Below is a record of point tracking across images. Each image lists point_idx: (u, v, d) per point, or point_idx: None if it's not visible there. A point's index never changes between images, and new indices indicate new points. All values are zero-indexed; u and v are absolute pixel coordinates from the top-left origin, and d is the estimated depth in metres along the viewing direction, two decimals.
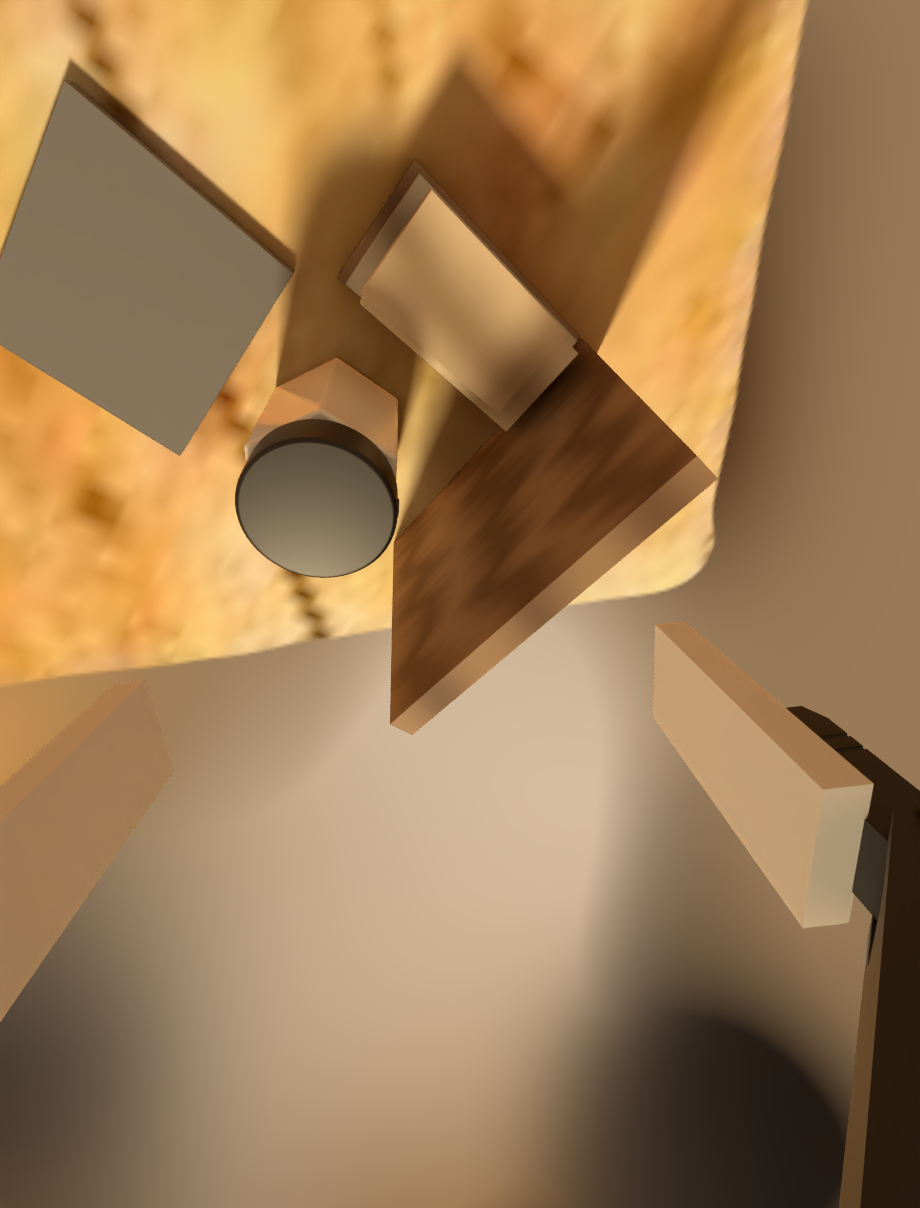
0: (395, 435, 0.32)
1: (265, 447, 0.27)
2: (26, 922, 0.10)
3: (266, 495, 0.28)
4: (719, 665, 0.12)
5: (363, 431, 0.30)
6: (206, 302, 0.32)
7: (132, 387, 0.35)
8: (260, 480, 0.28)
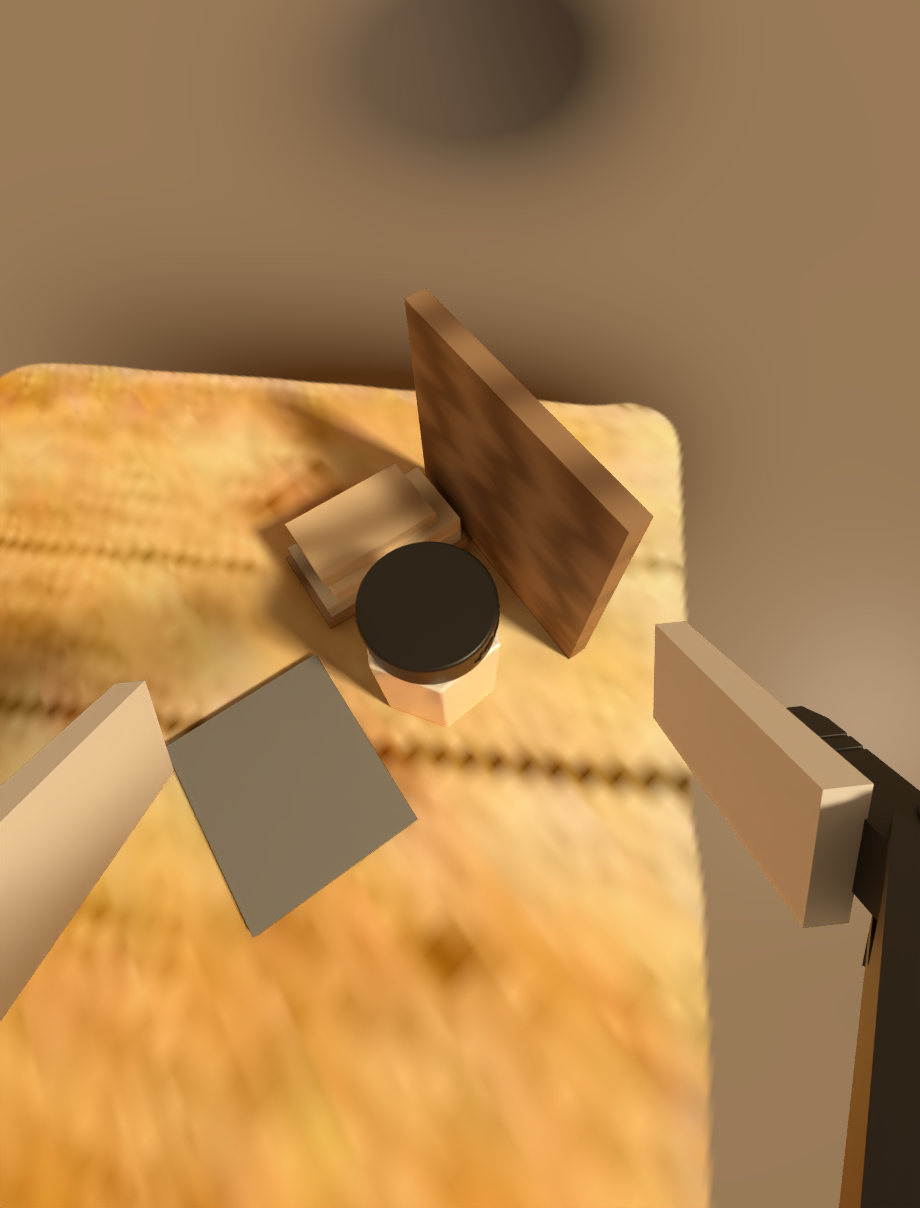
0: None
1: (356, 620, 0.32)
2: (26, 922, 0.10)
3: (394, 635, 0.31)
4: (719, 665, 0.12)
5: None
6: (308, 724, 0.40)
7: (344, 824, 0.37)
8: (379, 633, 0.31)
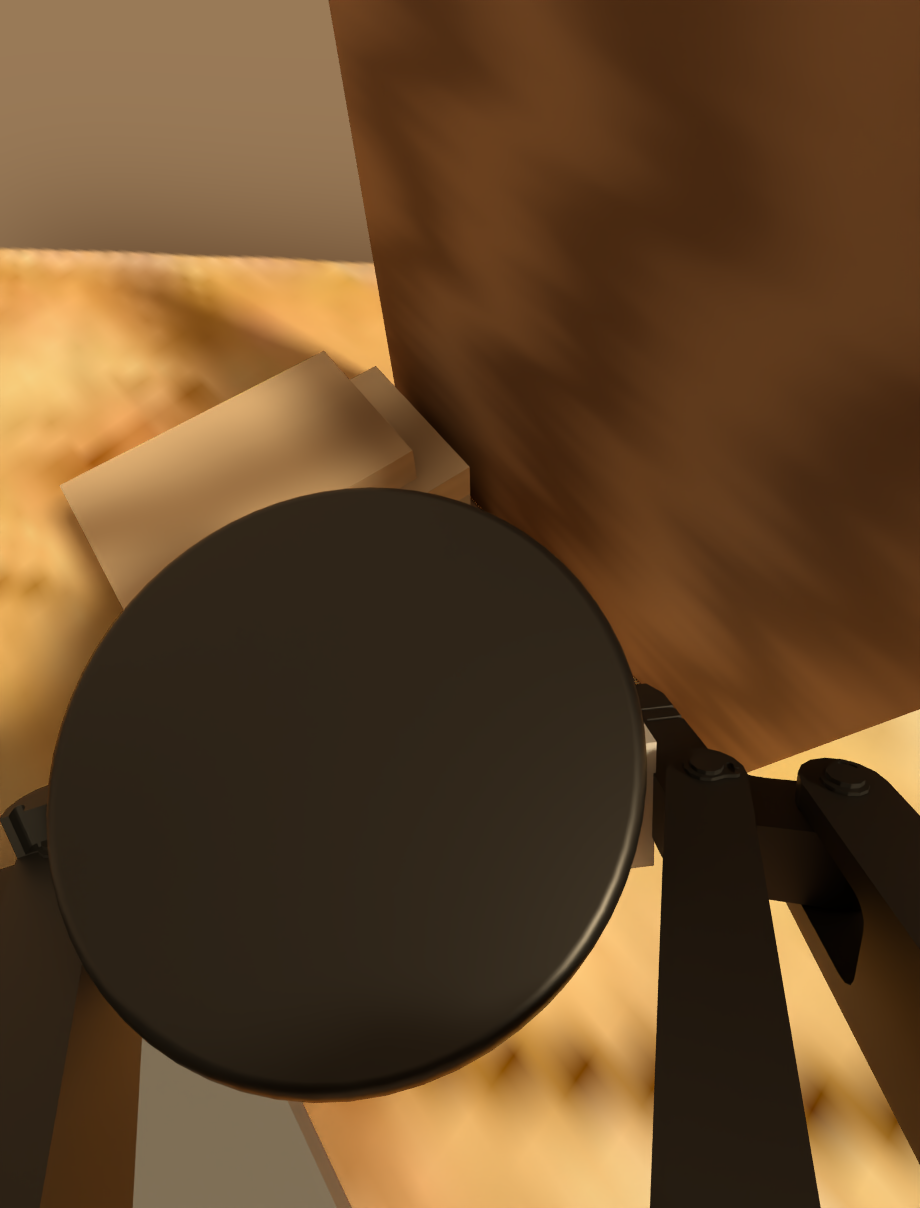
0: None
1: None
2: None
3: (194, 889, 0.07)
4: None
5: None
6: None
7: None
8: (129, 883, 0.07)
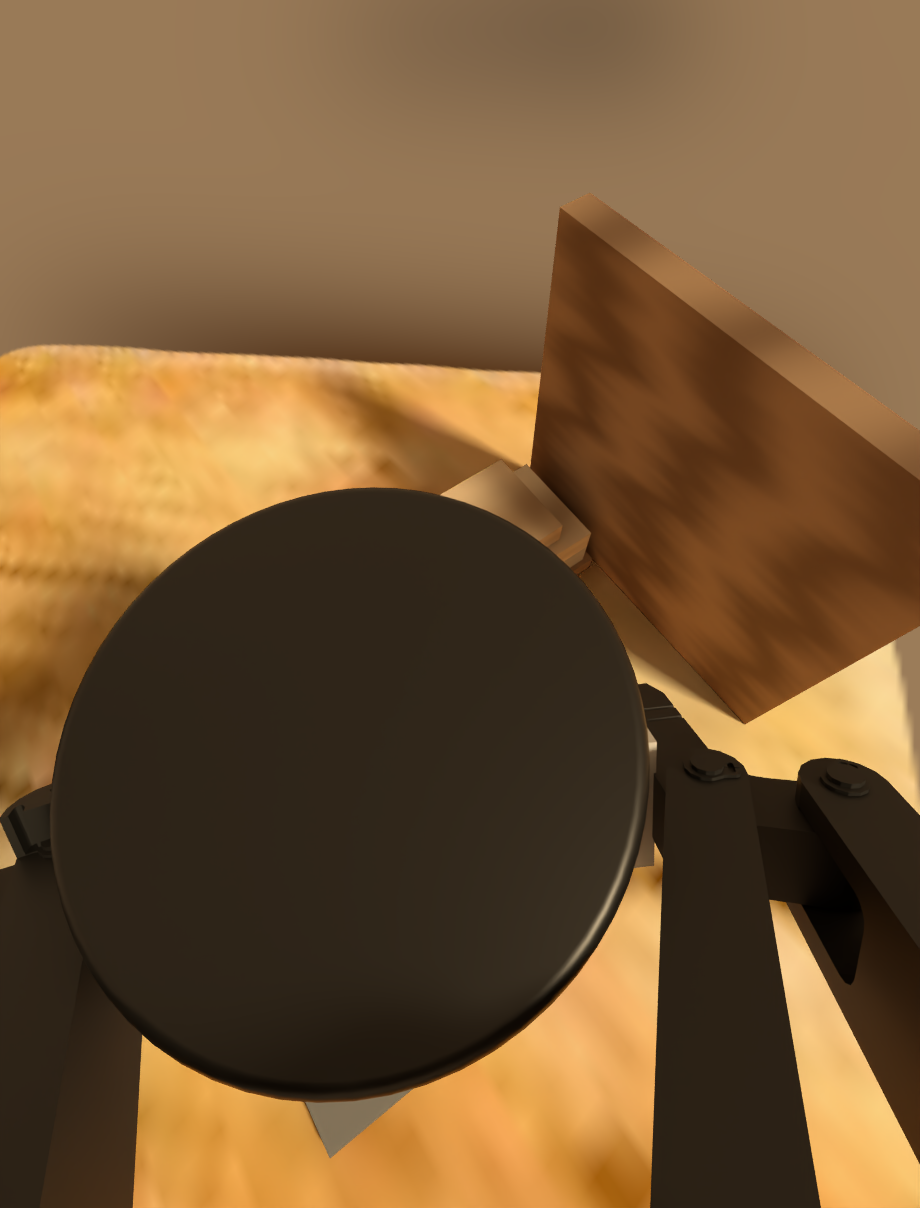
0: None
1: None
2: None
3: (198, 889, 0.07)
4: None
5: None
6: None
7: None
8: (132, 884, 0.07)
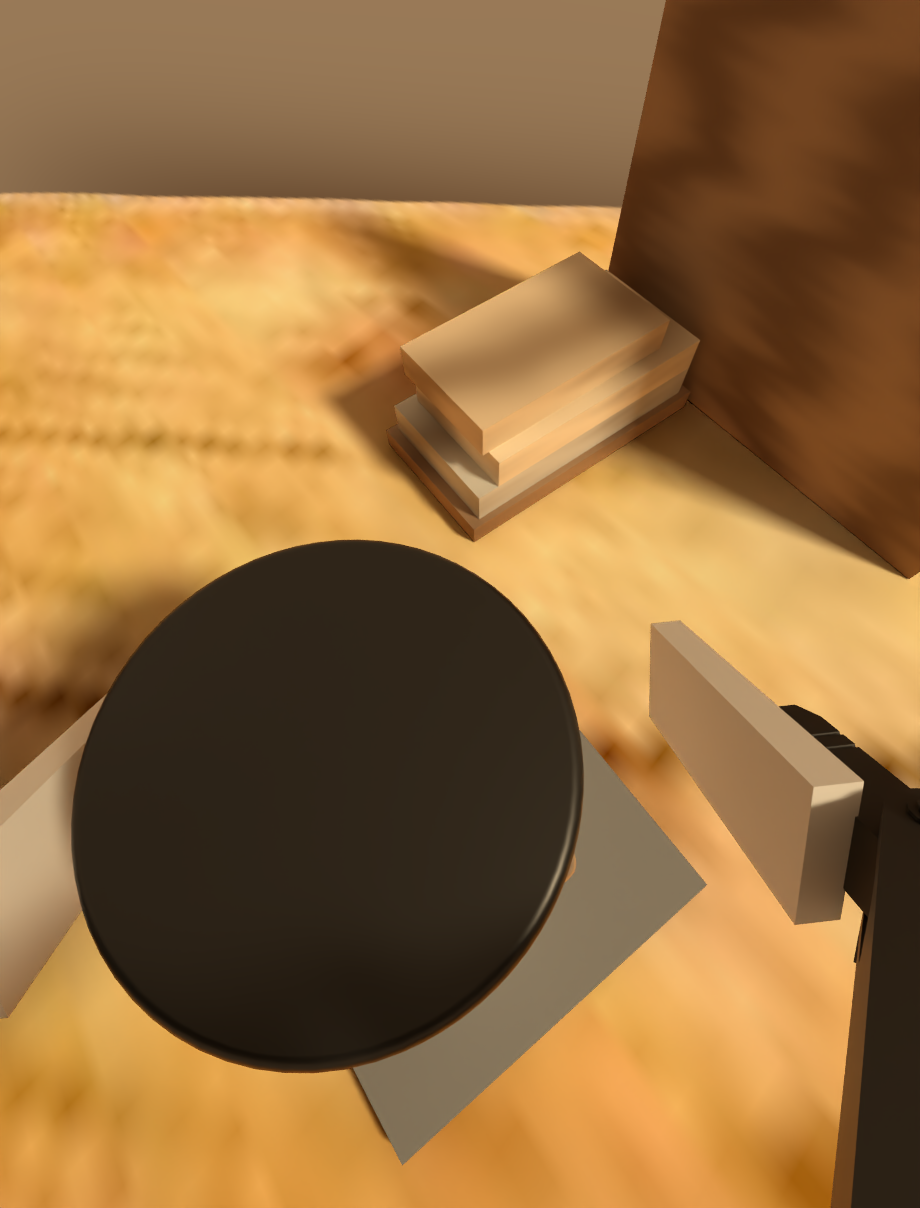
0: None
1: None
2: (34, 918, 0.10)
3: (193, 891, 0.08)
4: (713, 664, 0.12)
5: None
6: None
7: (563, 900, 0.19)
8: (139, 884, 0.08)
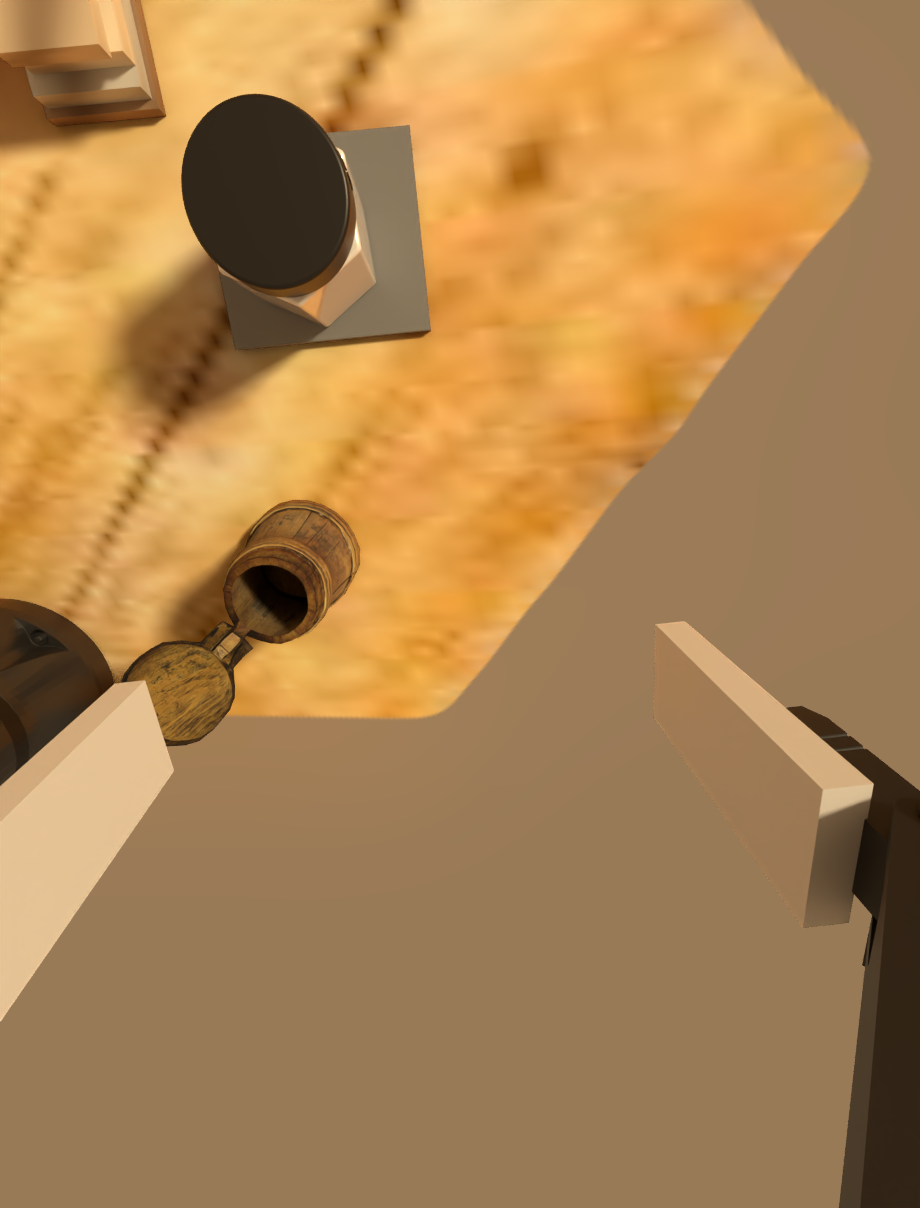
0: None
1: (252, 285, 0.29)
2: (26, 922, 0.10)
3: (287, 254, 0.28)
4: (719, 665, 0.12)
5: None
6: None
7: (381, 203, 0.38)
8: (278, 268, 0.29)
